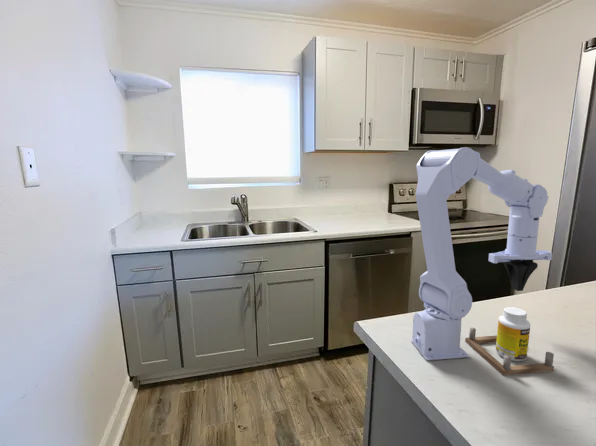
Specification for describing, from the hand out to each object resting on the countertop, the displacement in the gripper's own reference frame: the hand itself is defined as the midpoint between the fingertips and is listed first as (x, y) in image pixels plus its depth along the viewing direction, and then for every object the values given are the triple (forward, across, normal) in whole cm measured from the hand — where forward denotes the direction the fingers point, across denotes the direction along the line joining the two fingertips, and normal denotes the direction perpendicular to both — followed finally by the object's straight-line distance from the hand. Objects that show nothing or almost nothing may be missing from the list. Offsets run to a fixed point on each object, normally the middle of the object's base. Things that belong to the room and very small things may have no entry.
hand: (517, 289), depth 75 cm
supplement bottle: (+11, +9, +10) cm, 17 cm away
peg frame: (+10, +10, +10) cm, 17 cm away
